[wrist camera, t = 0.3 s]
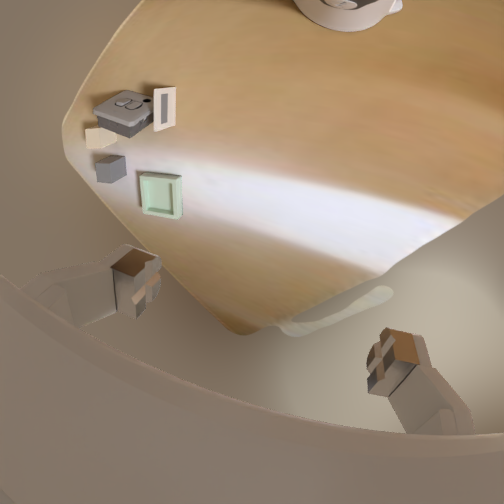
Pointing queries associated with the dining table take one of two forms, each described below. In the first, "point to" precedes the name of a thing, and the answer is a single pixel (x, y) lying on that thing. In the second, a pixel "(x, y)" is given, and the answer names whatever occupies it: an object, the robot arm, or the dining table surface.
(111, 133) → the beige part
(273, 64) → the dining table surface
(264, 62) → the dining table surface
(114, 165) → the grey part
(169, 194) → the tray
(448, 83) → the dining table surface
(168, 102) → the label plate
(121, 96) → the electrical switch
